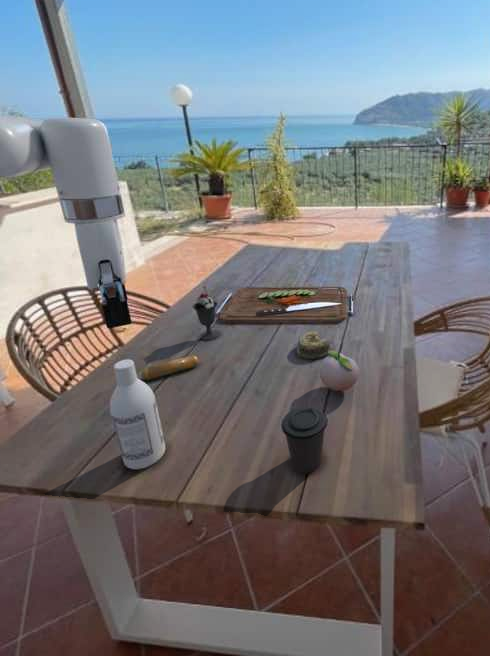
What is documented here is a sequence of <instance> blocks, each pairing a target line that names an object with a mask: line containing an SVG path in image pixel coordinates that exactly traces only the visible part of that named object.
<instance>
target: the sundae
mask: <svg viewBox="0 0 490 656" xmlns="http://www.w3.org/2000/svg"><path fill="white" fill-rule="evenodd" d="M217 307H218V301H217V300H214V299H213V298H212V297H211V296H210V295H209V294H208V291H207V290H206V286H203V291H202V293H200V295H199V297H198V298H197V299H196V302H195V303H194V304H193V305H192V309H194V310H195V312H196V314H197V318H198V321H199V323H200V325H202V326H204V327H206V328H205V329H206V332H203V333H202V334H201V335H200V339H201V340H202V341H211V340H215V339H217V338H218V336H219V333H218V332H217V331H215V330H213V331H212V329H211V326H212V325H213V324H214V323H215V321H216V320H215V319H216V314H215V313H216V308H217Z"/></svg>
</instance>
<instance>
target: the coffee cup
mask: <svg viewBox="0 0 490 656" xmlns="http://www.w3.org/2000/svg"><path fill="white" fill-rule="evenodd" d="M283 417H284V418H283V419H282V421H281V424H280V425H281V431H282V432H283V434H284V435H285V439H286V442H287V443H286V444H287V448H288V450H289V451H288V452H289V457H290V461H291V464H292V468H293V469H294V471H296V472H298V473H300V474H311V473H313V472H315V471H317V469H318V468H320V466H321V464H322V456H323V448H324V447H323V446H324V438H325V430H326V428H327V427H328V421H329V420H328V417H327V415H326V414H325V413H324V412H323V410H321V409H320V408H317V407H315V406H309V405H307V406H306V405H305V406H299V407H296V408H294V409H291V410H290V411H288V413H287V414H286V415H284V416H283Z"/></svg>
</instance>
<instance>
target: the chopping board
mask: <svg viewBox="0 0 490 656" xmlns="http://www.w3.org/2000/svg"><path fill="white" fill-rule="evenodd" d="M319 288H320V289H319ZM321 288H338V289H321ZM341 289H342V290H343V291H342V290H341ZM347 291H348V290H347V288H346V287H343V286H244V287H240V288H239V289H237V291H235V294H232V293H231V292H230V293H229V294H228V295H227V297H226V298H225V300H224V301H223V302H222V303H221V305H220V307H218V309H217V310H216V311H215V316H218V315H219V314H220V315H219V321H220V323H222V324H339V323H342V322H344V321H345V320H346V318H347V313H349V314H351V315H352V316H353V315H354V300H353V301H352V293H353V292H352V293H351V294H347V293H348V292H347ZM339 292H340V294H339ZM342 292H343V294H342ZM231 297H232V298H231ZM347 297H350V302H351V303H350V310H347ZM230 298H231V299H230ZM228 301H229V302H228ZM223 308H224V309H223ZM222 309H223V310H222Z"/></svg>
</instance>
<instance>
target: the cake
mask: <svg viewBox="0 0 490 656" xmlns="http://www.w3.org/2000/svg"><path fill="white" fill-rule="evenodd" d="M319 337H320V336H319V333H318V331H309V332H305V333H303V334H302V335H301V336H300V337H299V338H298V341H297V344H296V345H297V348H296V354H297V355H298V357H300V358H304V359H307V360H315V359H319V358H323V357H326V356H328V355H329V354H328V353H327V352H328V351H333V345H332V343H331V340H330V339H326V338H322V339H320V338H319Z"/></svg>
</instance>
